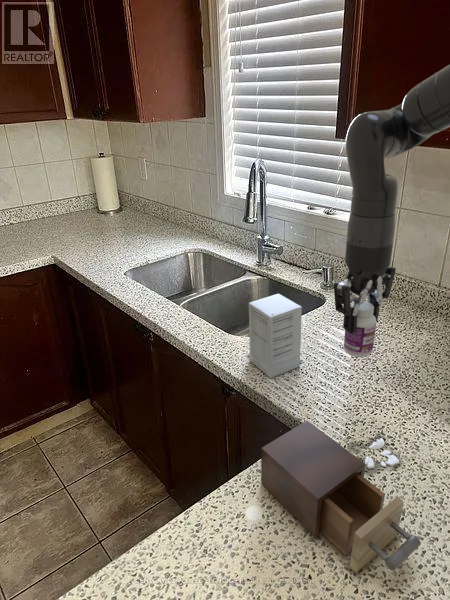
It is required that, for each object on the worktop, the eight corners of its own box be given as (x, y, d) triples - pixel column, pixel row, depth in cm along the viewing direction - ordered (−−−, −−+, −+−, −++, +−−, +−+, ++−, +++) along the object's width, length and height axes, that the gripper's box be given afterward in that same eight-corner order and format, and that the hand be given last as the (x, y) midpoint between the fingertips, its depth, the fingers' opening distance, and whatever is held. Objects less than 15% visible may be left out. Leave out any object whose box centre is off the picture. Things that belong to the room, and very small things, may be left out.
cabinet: (359, 506, 75) (365, 463, 70) (314, 543, 69) (318, 499, 65) (304, 460, 84) (307, 420, 80) (260, 489, 79) (261, 447, 74)
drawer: (422, 558, 65) (431, 522, 62) (381, 600, 61) (389, 563, 57) (338, 487, 77) (342, 454, 74) (298, 518, 72) (300, 483, 69)
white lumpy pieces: (380, 442, 88) (381, 434, 87) (403, 467, 82) (405, 460, 81) (347, 451, 86) (348, 444, 85) (368, 478, 80) (369, 471, 79)
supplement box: (301, 366, 111) (303, 306, 103) (270, 379, 107) (271, 317, 99) (277, 349, 118) (278, 292, 111) (248, 360, 114) (247, 301, 107)
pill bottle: (367, 361, 82) (372, 315, 77) (339, 353, 84) (342, 308, 80) (376, 347, 86) (381, 302, 81) (349, 340, 88) (353, 296, 84)
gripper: (359, 254, 69) (350, 347, 76) (415, 234, 76) (402, 321, 83) (323, 242, 74) (318, 330, 82) (378, 225, 81) (369, 307, 89)
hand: (360, 325), depth 83 cm, fingers closed on pill bottle, 5 cm apart
